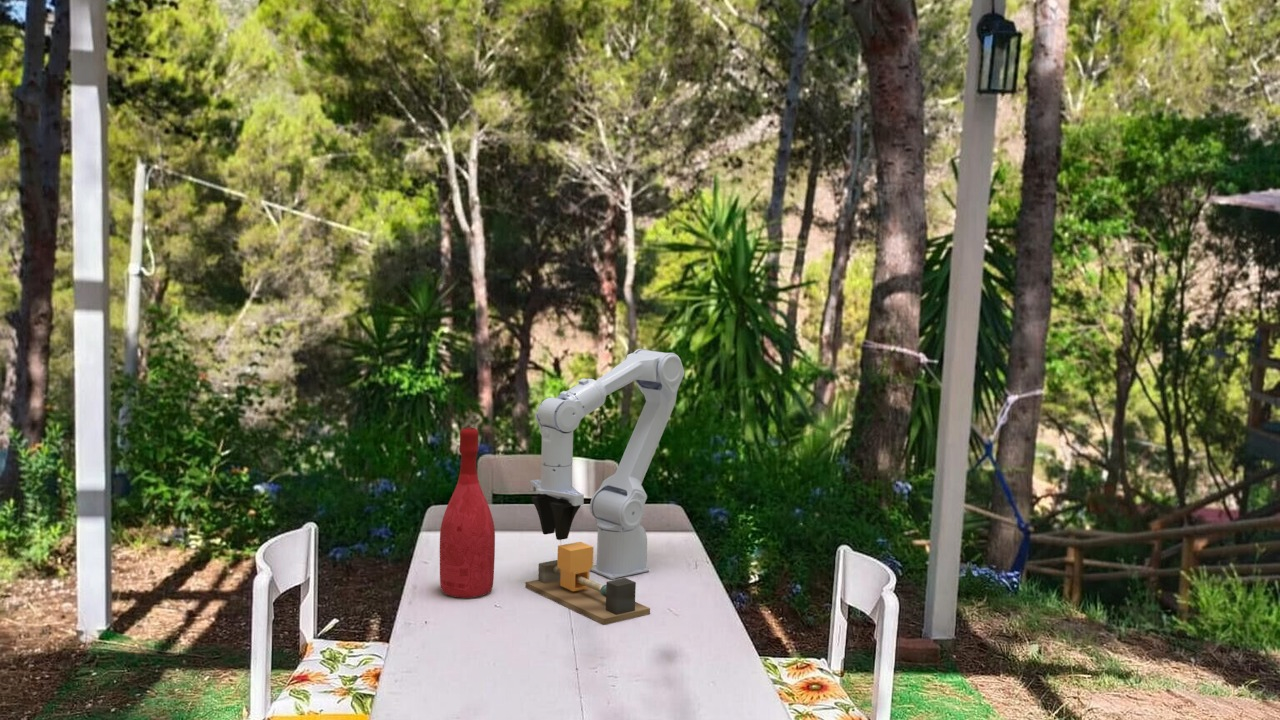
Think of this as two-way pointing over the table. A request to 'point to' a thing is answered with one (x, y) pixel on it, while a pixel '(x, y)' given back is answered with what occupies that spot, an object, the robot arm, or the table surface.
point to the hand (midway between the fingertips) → (555, 536)
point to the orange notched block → (574, 564)
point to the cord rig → (590, 595)
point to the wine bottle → (467, 530)
